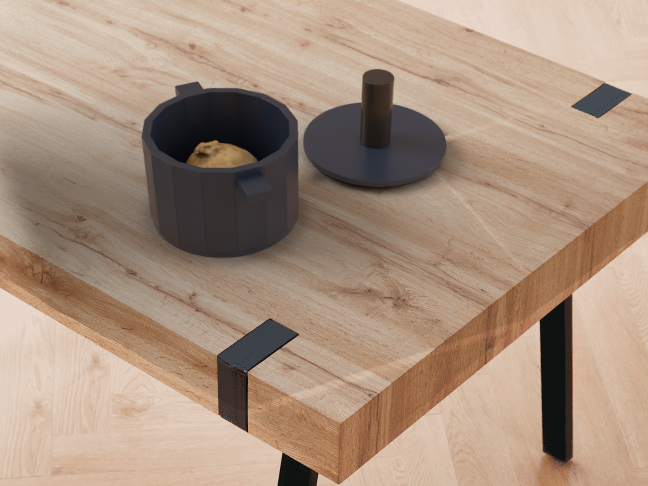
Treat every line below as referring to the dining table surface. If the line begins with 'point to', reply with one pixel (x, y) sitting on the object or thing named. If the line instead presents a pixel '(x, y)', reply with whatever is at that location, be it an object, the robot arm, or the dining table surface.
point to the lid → (375, 138)
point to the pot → (221, 171)
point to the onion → (219, 156)
